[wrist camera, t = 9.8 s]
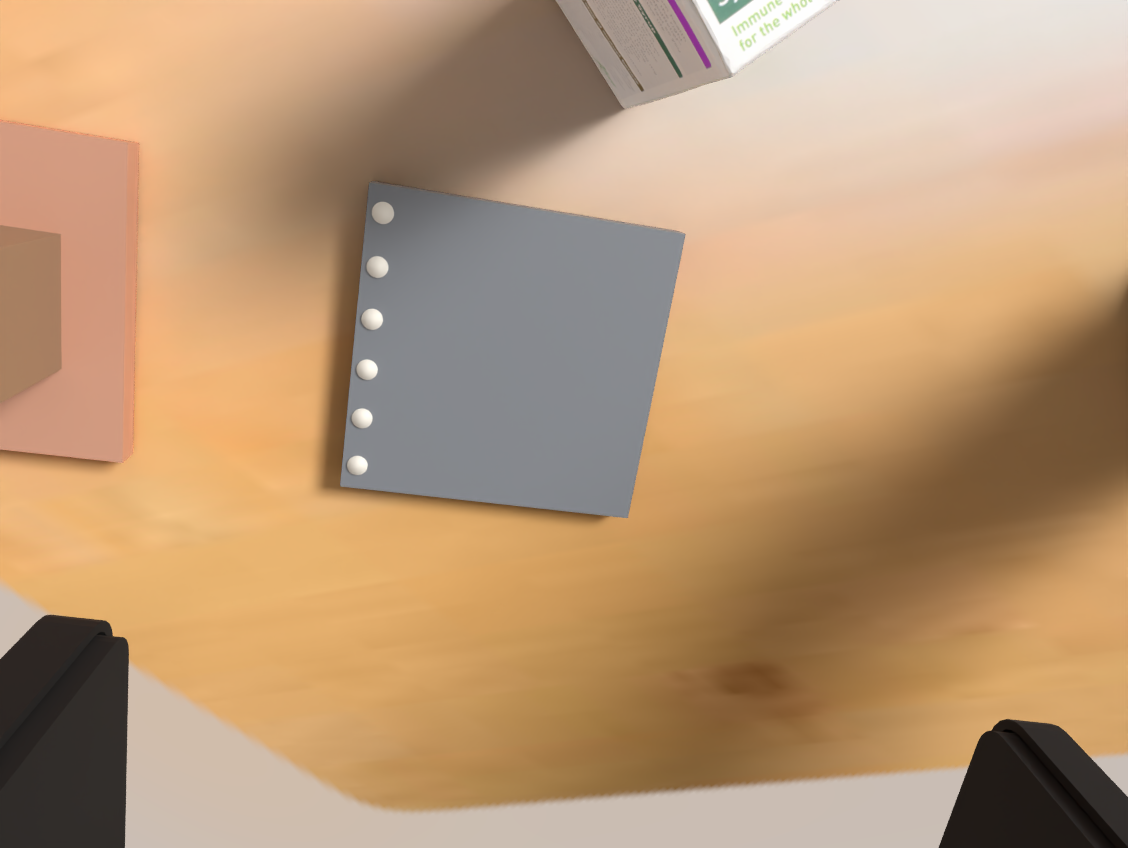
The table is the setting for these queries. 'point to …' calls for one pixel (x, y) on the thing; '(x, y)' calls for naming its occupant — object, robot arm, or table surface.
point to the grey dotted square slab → (504, 351)
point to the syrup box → (680, 40)
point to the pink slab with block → (67, 292)
